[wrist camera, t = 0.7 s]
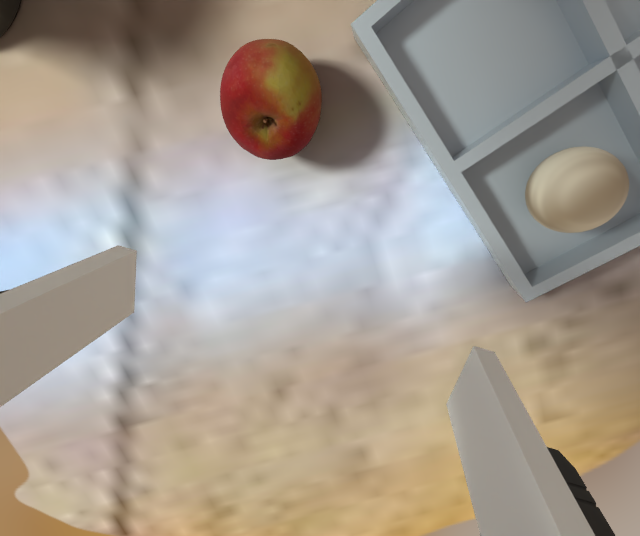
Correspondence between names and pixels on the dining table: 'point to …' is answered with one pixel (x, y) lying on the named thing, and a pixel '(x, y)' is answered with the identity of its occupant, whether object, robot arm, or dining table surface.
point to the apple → (270, 99)
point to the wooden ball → (577, 189)
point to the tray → (516, 112)
